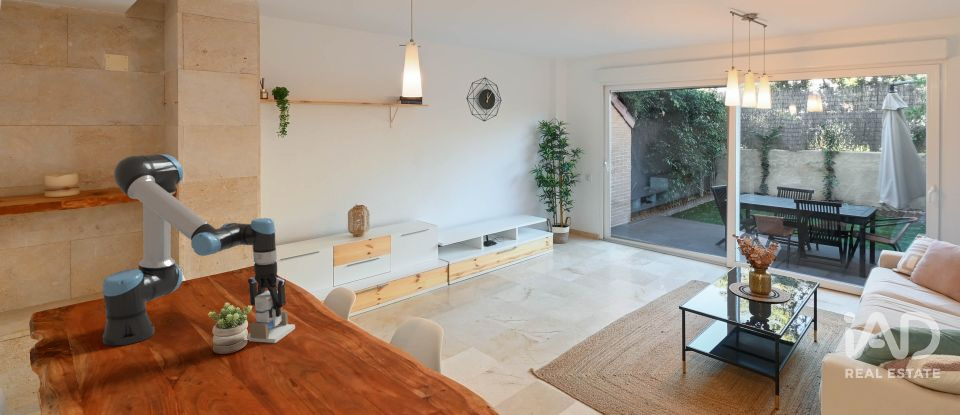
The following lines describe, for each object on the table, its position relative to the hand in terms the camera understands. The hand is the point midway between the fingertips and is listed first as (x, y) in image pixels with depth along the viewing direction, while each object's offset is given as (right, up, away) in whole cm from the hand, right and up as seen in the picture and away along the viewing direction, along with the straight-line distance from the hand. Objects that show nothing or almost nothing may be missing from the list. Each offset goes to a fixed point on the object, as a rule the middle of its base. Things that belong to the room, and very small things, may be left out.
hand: (269, 324), depth 180 cm
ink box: (0, -1, 0) cm, 0 cm away
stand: (0, -4, +1) cm, 4 cm away
